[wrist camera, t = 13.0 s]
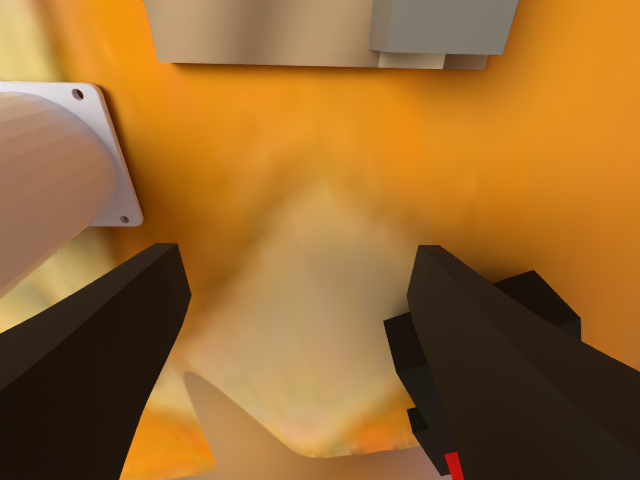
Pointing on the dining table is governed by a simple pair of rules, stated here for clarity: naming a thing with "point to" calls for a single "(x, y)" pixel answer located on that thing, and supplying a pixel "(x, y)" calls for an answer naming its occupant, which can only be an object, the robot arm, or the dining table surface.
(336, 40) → the subfloor panel
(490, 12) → the block
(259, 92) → the dining table surface
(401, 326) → the red-and-black block model
